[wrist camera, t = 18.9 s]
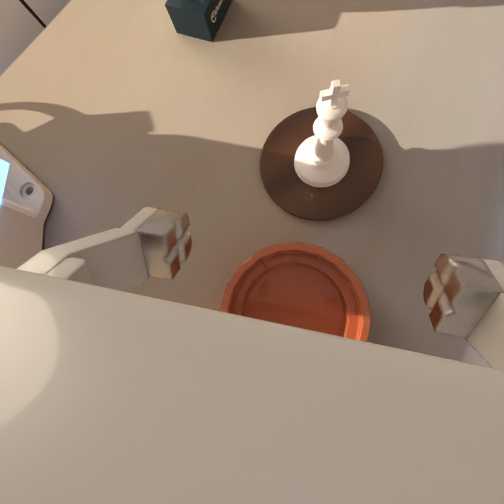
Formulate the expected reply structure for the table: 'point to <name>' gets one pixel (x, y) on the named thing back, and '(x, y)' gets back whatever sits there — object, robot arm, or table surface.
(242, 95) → the table surface
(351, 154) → the coaster
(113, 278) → the robot arm
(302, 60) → the table surface
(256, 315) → the dish
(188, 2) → the watch
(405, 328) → the table surface
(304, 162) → the chess piece
